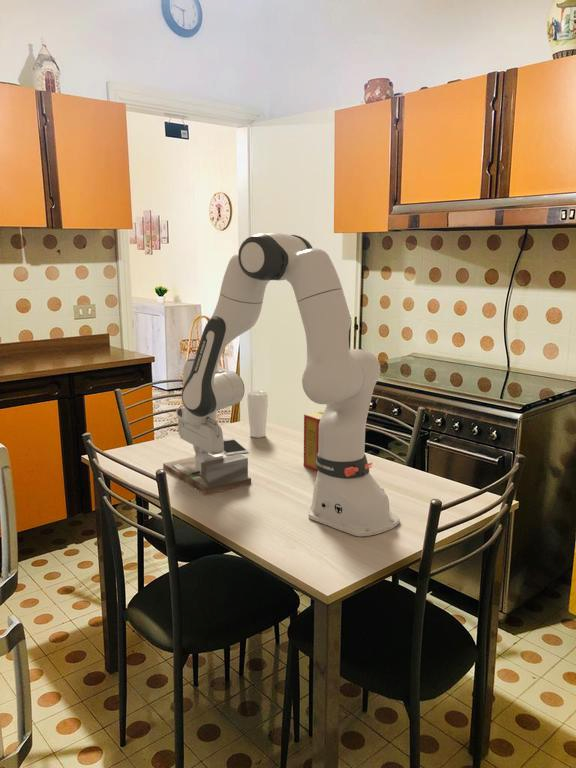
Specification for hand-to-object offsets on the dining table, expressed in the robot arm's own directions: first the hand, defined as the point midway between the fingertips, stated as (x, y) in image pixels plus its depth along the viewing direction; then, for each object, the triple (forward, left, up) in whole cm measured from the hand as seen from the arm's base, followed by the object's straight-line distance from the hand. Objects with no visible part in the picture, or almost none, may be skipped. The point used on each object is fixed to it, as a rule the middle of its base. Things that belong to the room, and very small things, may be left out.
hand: (201, 461), depth 178 cm
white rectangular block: (-5, +1, -2) cm, 5 cm away
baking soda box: (-16, -32, -4) cm, 36 cm away
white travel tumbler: (+20, -33, -4) cm, 39 cm away
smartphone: (+15, -19, -4) cm, 25 cm away
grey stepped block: (-3, 0, -4) cm, 4 cm away
